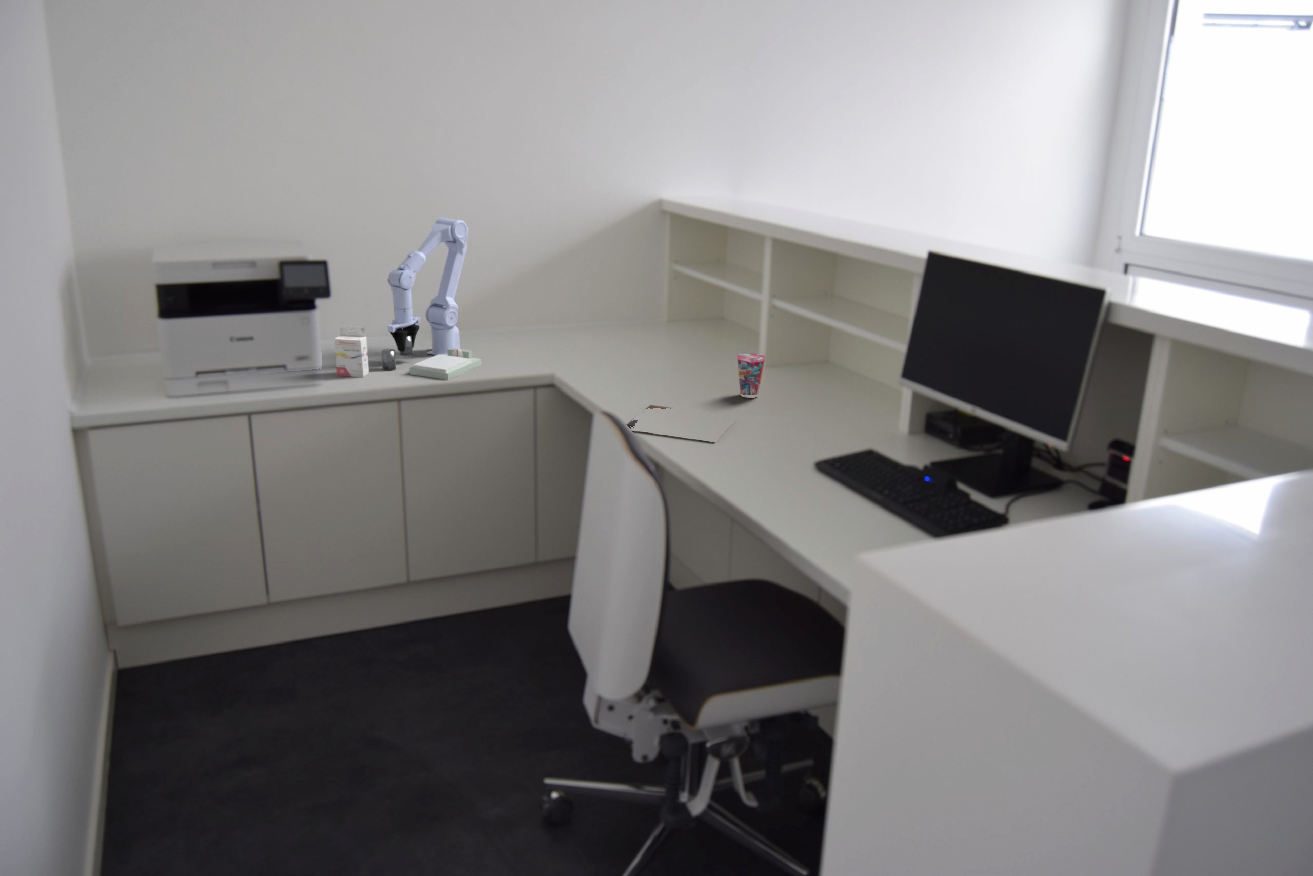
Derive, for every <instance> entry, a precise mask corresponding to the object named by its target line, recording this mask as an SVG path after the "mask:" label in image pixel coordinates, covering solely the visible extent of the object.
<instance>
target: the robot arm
mask: <svg viewBox="0 0 1313 876" xmlns="http://www.w3.org/2000/svg"><path fill="white" fill-rule="evenodd" d="M469 232H470V229H469V228H468V225H467V224H466V222H465V220H462V219H452V218H446V217H439V218H437V219H436V220H435V222H434V223H433V224H432V225H431V231H430V232H429V234H428V235H427V237H426V238H425V239H424V240H423V242H422V243H421V245H420V246H419V248H418V249H417V250H416V251H412V250H411V252H408V253H407V255H406V256H407V257H406V258H405V259H404V260H403V261H401V263H400V264H399V265H398V267H397V268H394V269H392V270H391V271H390V273H389V274H388V278H387V283H388V285H389V286H390V288H391V292H392V301H393V313H394V319H392V323H390V324H389V325H387V332H389V334H390V335H391V337H392V338H393V339H394V342H395V345H396V348H397V351H398V352H400V351H402V352H404V351H405V341H406V335H407V334H408V335H411V336H412V349H414V346H415V341H416V337H417V334H418V331H419V330H420V325H418V324H421V317H420V316H416V315H415V316H414V314H413V313H414V311H413V310H414V309H413V299H412V298H413V294H412V287H413V286H415V283H416V282H415V281H416V278H417V275H418V274H419V273H420V272H421V271H422V269H424V267H425V266H426V264H427V258H428V257H429V256H430V254H431V253H432V252H434V250H435V249H436V248H437V247H438V246H439V245H440V244H441V243H444V244H445V245H446V247H447V249H448V252H447V256H446V261H445V264H444V268H443V272H442V276H441V280H440V284H439V288H438V292H437V296H435V297H434V298H433V299H431V301H430V303H429V305H428V307H427V309H426V310H425V319H426V321H427V322H428V323H429V326H430V333H431V350H429V351H427V352H426V354H428V355H434V356H436V355H438V354H440V355H442V354H448V353H447V349H449V348H457V349H461V341H460V339H461V338H460V330H459V328H458V327H457V326H456V324H458V323H457V322H458V319H459V316H458V313H459V305H458V304H457V303H456V301H455V297H456V293H457V289H458V285H459V281H460V278H461V273H462V269H463V266H464V262H465V258H466V253H467V249H468V241H467V240H468V237H469V234H470V233H469Z"/></svg>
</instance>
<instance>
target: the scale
mask: <svg viewBox="0 0 1313 876" xmlns="http://www.w3.org/2000/svg"><path fill="white" fill-rule="evenodd" d="M447 353H448V354H442V355H440V354H438V355H434V356H431V357H429V358H426V359H424V360H421V361H419V362H416V363H414V364H412V366H410V367H409V368H408V369H409V370H408V371H409V375H412V376H420V377H425V378H432V379H440V380H446V381H449V380H451V379H453V377H454V378H456V377H457V376H460V375H463V374H464V373H467V372H469V371H471V370H473V369H476V368H478V367H480V366H482V358H477V357H473V350H470V349H463V348H460V349H457V348H449V349H447Z"/></svg>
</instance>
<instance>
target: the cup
mask: <svg viewBox="0 0 1313 876" xmlns="http://www.w3.org/2000/svg"><path fill="white" fill-rule="evenodd" d="M736 359H737V368H738V380H739V381H738V382H739V391H740V395H741V394H743V395H757V394H758V395H759V394H760V388H761V382H762V376H763V371H764V366H765V360H766V359H767V357H766V356H765V355H763V354H760V353H754V352H753V353H751V352H750V353H747V352H745V353H740V354H737V355H736Z"/></svg>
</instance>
